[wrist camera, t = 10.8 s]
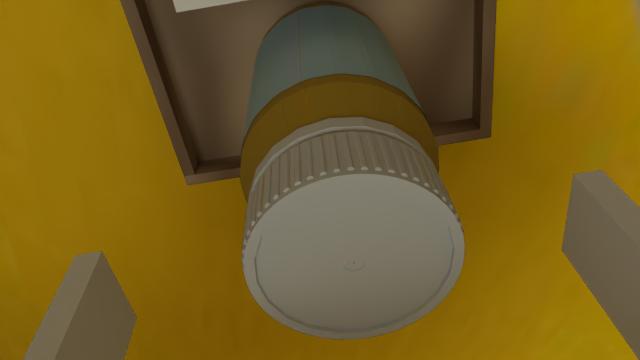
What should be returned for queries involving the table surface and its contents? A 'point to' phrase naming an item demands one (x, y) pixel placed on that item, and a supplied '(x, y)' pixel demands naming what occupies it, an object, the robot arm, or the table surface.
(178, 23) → the tray
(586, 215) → the robot arm
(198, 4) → the carton
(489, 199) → the table surface
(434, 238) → the bottle
